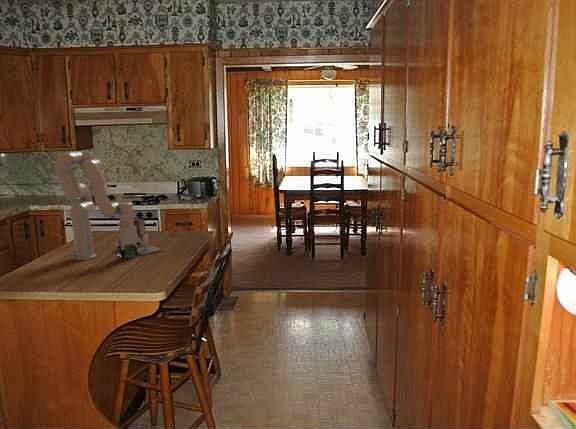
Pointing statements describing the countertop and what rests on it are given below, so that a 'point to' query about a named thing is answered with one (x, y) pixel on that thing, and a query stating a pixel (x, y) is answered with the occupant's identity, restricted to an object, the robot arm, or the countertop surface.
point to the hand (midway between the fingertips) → (129, 254)
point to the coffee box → (140, 229)
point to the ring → (129, 252)
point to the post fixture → (147, 248)
